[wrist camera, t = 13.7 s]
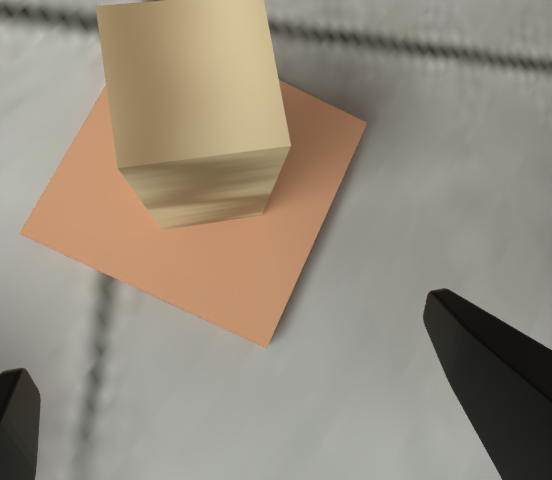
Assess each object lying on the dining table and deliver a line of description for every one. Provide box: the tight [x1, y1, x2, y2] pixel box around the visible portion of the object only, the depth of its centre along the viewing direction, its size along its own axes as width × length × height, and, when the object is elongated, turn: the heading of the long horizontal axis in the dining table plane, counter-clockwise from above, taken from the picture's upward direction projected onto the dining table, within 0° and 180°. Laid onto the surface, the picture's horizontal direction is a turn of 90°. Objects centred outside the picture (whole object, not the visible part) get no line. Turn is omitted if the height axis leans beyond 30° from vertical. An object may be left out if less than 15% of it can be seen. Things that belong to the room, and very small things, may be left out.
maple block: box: [96, 0, 291, 230], centre depth 19 cm, size 5×5×10 cm
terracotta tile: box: [19, 80, 367, 348], centre depth 24 cm, size 13×13×1 cm
